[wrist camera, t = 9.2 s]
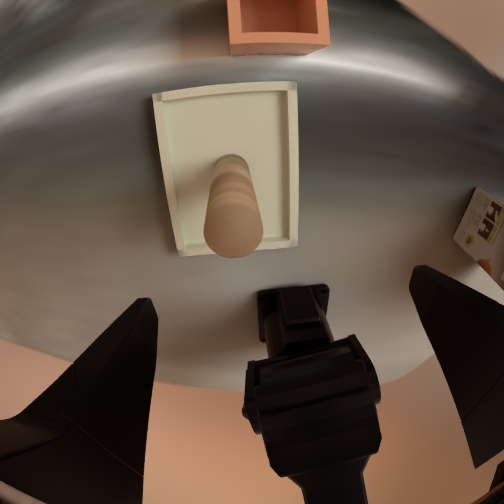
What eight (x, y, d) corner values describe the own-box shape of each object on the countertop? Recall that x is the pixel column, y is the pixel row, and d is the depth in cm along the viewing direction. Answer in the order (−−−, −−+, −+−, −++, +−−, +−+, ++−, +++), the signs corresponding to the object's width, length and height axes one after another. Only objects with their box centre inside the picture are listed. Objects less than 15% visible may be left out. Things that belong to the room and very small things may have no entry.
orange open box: (305, 54, 16) (330, 45, 11) (229, 56, 16) (230, 44, 11) (301, -8, 13) (322, -33, 9) (225, -8, 13) (225, -36, 9)
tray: (294, 238, 23) (297, 246, 22) (181, 248, 23) (178, 256, 22) (292, 81, 17) (296, 81, 16) (156, 93, 16) (152, 94, 15)
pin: (249, 185, 20) (264, 255, 12) (215, 189, 20) (207, 260, 12) (247, 152, 19) (262, 202, 11) (211, 155, 19) (199, 207, 11)
